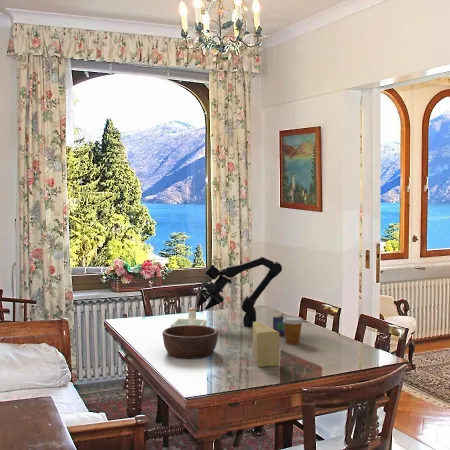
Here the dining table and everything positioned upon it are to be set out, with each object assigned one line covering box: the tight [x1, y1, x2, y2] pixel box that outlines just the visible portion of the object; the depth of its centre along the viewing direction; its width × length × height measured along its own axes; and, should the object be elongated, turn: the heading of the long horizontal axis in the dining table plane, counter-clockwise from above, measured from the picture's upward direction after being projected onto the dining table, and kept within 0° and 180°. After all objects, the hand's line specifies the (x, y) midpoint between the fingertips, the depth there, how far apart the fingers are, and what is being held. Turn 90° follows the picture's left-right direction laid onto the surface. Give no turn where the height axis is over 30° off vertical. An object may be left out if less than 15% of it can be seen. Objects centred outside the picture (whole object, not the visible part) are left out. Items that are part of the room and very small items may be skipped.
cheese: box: [252, 321, 280, 368], centre depth 273 cm, size 22×10×15 cm, turn 13°
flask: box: [272, 313, 285, 336], centre depth 321 cm, size 9×3×11 cm, turn 87°
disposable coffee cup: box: [283, 315, 304, 345], centre depth 303 cm, size 10×10×12 cm
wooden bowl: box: [162, 325, 219, 359], centre depth 284 cm, size 25×25×10 cm
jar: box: [187, 307, 197, 325], centre depth 332 cm, size 4×4×10 cm
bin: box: [170, 318, 208, 327], centre depth 331 cm, size 16×16×4 cm
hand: (201, 307), depth 334 cm, fingers open, 9 cm apart
